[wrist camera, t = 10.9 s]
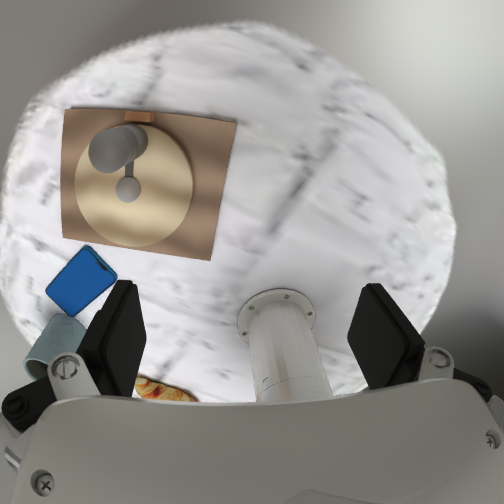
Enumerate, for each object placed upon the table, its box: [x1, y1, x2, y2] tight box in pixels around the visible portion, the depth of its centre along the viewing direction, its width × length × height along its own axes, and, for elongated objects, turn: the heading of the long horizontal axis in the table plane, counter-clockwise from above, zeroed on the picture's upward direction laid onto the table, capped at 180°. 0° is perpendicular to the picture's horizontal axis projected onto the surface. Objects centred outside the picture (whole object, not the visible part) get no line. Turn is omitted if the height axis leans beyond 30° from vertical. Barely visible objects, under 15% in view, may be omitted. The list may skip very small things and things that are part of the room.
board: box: [60, 109, 236, 261], centre depth 32 cm, size 18×22×4 cm
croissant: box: [135, 377, 196, 402], centre depth 53 cm, size 21×10×8 cm, turn 38°
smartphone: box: [45, 246, 117, 317], centre depth 40 cm, size 7×1×15 cm
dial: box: [75, 124, 193, 247], centre depth 28 cm, size 15×15×9 cm
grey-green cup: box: [23, 314, 86, 381], centre depth 39 cm, size 10×10×12 cm
